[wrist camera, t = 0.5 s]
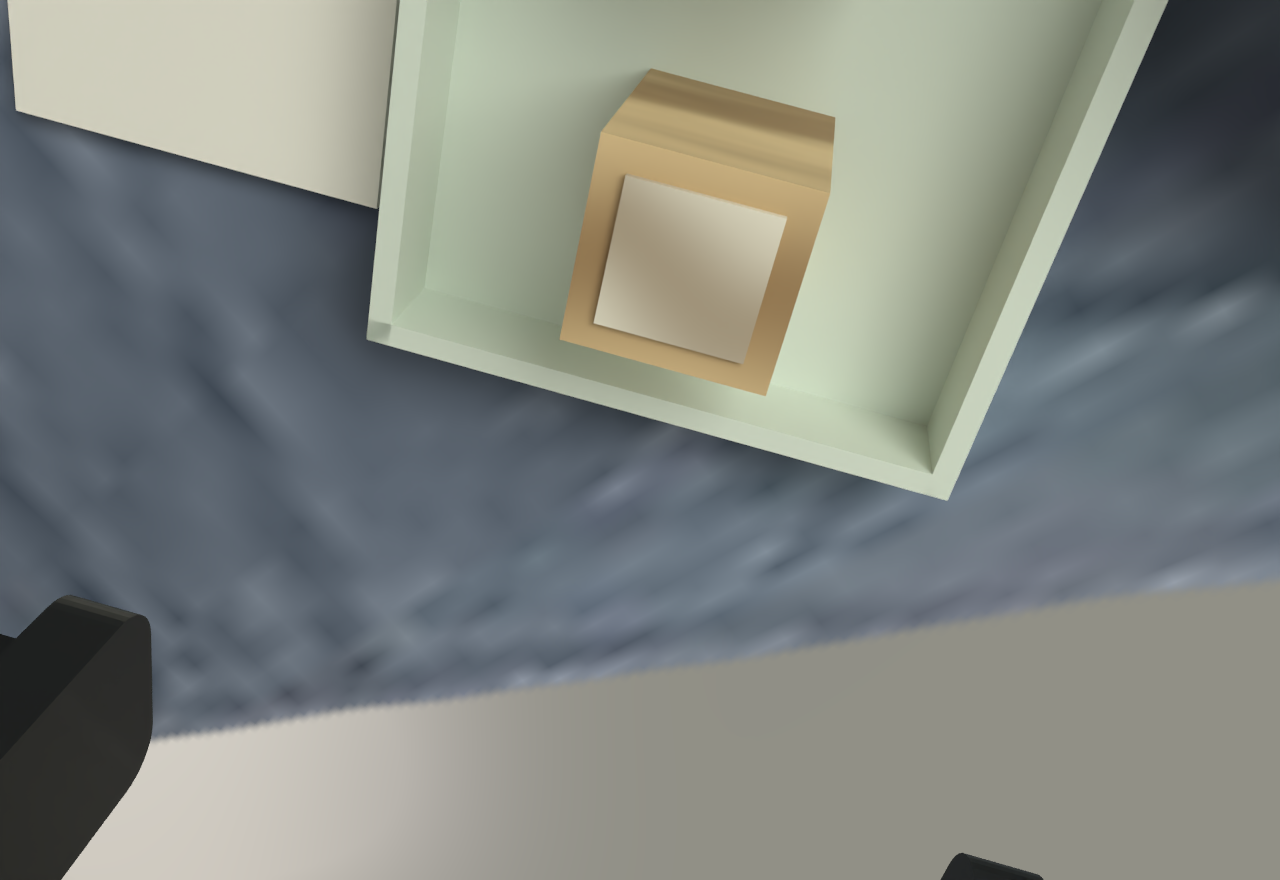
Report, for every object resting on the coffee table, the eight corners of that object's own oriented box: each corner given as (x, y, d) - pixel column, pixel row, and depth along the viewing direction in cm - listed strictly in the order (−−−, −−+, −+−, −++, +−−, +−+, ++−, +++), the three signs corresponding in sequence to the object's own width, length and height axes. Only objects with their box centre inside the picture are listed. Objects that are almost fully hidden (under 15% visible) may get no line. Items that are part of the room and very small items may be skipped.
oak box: (651, 68, 26) (599, 133, 21) (835, 117, 26) (830, 195, 21) (612, 243, 29) (557, 342, 23) (782, 289, 28) (764, 399, 23)
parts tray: (521, -674, 21) (473, -743, 18) (1328, -478, 20) (1397, -520, 18) (407, 295, 31) (366, 339, 28) (939, 441, 30) (947, 500, 28)
